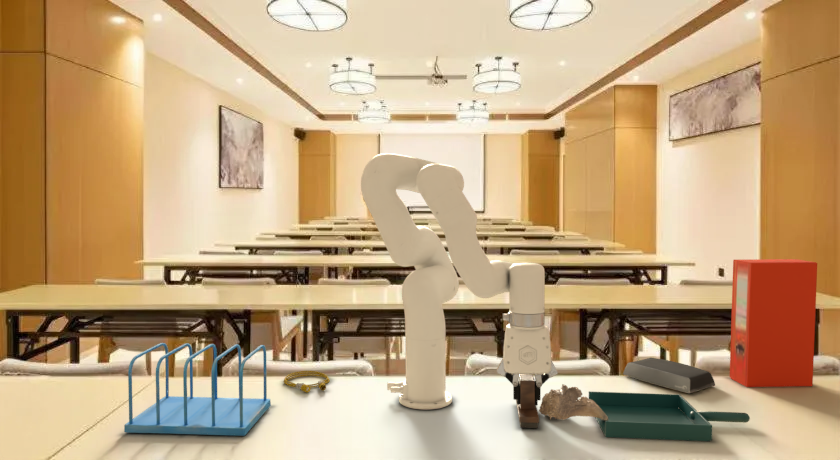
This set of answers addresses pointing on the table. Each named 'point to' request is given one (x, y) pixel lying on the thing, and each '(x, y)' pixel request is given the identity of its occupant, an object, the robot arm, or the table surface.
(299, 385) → the gold rope bracelet
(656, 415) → the dustpan
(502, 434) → the table surface
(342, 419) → the table surface
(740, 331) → the file binder
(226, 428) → the file sorter
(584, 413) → the rock
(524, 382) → the brown stepped block
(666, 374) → the hard drive
